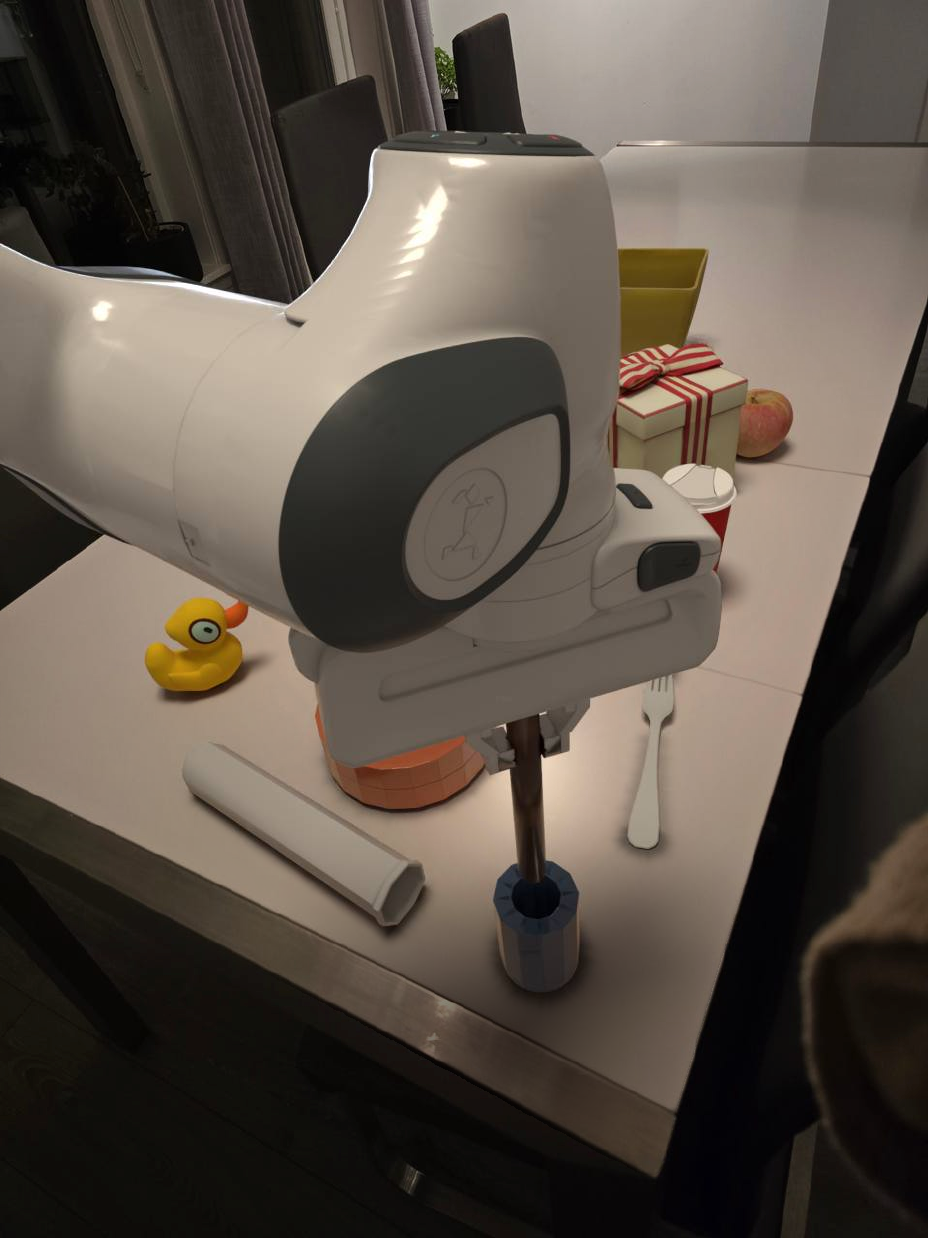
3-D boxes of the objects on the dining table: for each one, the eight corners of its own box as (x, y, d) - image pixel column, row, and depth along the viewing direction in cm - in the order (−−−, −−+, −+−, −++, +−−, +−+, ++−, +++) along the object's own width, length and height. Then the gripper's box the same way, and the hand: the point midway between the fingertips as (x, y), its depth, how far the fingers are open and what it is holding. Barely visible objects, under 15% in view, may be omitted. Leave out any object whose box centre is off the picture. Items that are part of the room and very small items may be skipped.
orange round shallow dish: (346, 835, 68) (331, 791, 64) (317, 712, 80) (304, 669, 76) (514, 782, 71) (510, 737, 67) (463, 670, 82) (457, 626, 78)
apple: (796, 445, 109) (807, 390, 104) (764, 473, 105) (774, 417, 100) (738, 429, 114) (745, 375, 109) (704, 455, 110) (711, 400, 105)
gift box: (642, 436, 115) (649, 316, 104) (741, 487, 103) (760, 357, 92) (547, 477, 109) (543, 354, 98) (639, 537, 97) (647, 404, 86)
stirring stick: (524, 892, 51) (510, 707, 40) (514, 869, 52) (498, 684, 42) (550, 883, 51) (543, 697, 41) (540, 860, 53) (531, 674, 42)
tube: (158, 773, 70) (369, 918, 58) (197, 722, 72) (410, 852, 60) (191, 795, 75) (395, 935, 62) (228, 747, 76) (433, 873, 64)
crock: (517, 1004, 56) (510, 947, 51) (491, 933, 60) (483, 874, 55) (591, 977, 57) (592, 919, 52) (560, 909, 61) (558, 848, 56)
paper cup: (662, 563, 93) (671, 455, 83) (730, 578, 89) (747, 468, 80) (639, 604, 88) (646, 493, 78) (710, 621, 84) (726, 508, 75)
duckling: (263, 646, 88) (238, 574, 82) (272, 677, 84) (247, 603, 78) (158, 680, 86) (124, 608, 79) (163, 713, 82) (127, 640, 75)
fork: (623, 859, 67) (623, 843, 65) (647, 667, 80) (648, 649, 78) (658, 865, 66) (659, 849, 64) (676, 670, 79) (678, 652, 77)
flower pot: (588, 347, 141) (588, 246, 130) (699, 351, 136) (709, 246, 125) (563, 395, 128) (561, 287, 117) (686, 402, 122) (696, 289, 111)
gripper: (287, 656, 31) (351, 860, 40) (756, 531, 35) (720, 743, 44) (269, 567, 36) (330, 767, 45) (683, 465, 39) (664, 669, 48)
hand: (525, 754), depth 44 cm, fingers closed on stirring stick, 2 cm apart
